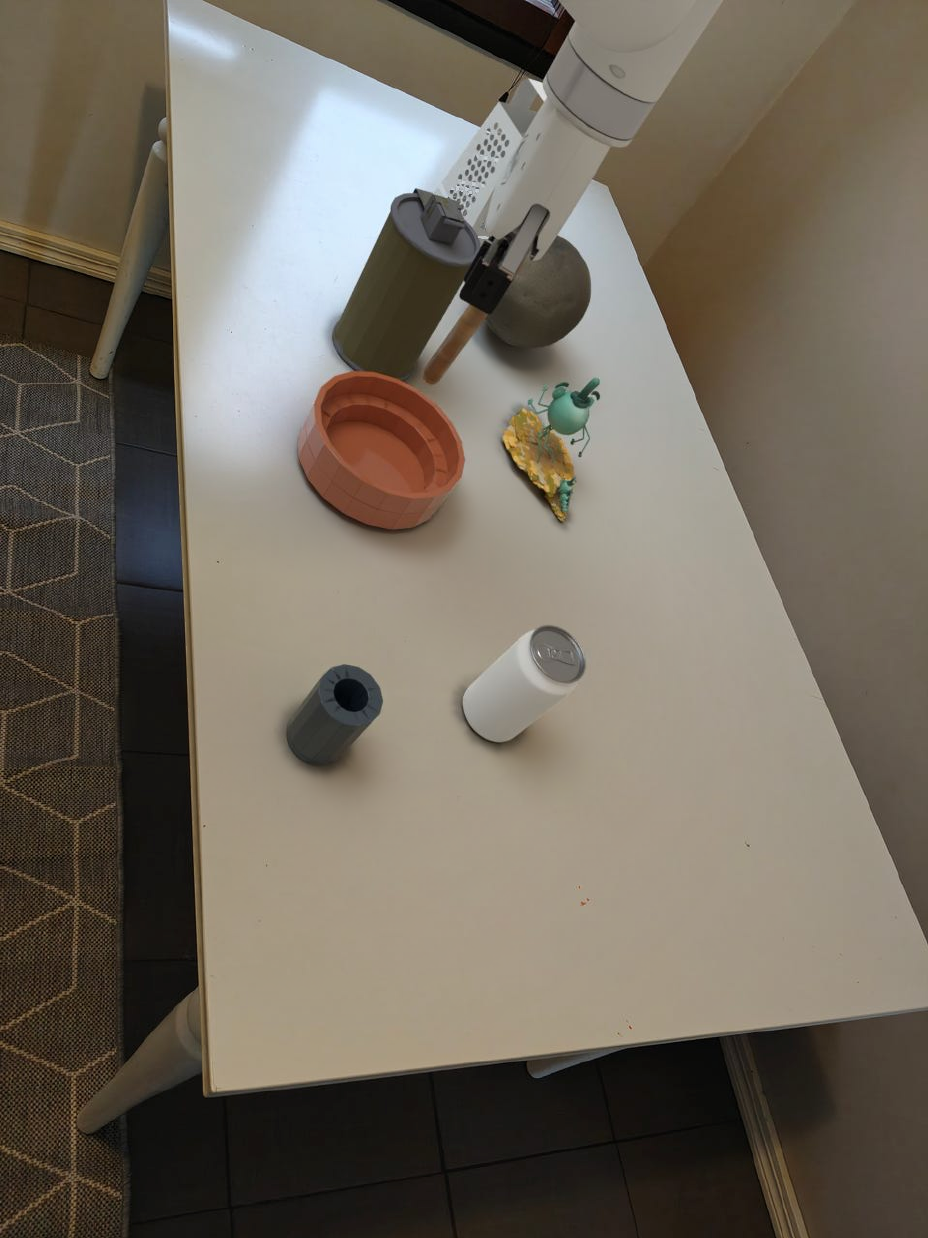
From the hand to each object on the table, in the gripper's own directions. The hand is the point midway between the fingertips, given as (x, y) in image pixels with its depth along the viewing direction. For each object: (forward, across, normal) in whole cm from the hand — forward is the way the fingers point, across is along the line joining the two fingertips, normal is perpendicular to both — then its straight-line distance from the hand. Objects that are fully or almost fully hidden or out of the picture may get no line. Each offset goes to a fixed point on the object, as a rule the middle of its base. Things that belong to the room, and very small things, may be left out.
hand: (477, 295), depth 73 cm
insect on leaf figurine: (+24, -14, +19) cm, 33 cm away
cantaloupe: (+24, -35, +12) cm, 44 cm away
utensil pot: (+24, +32, +2) cm, 40 cm away
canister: (+24, -19, -4) cm, 31 cm away
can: (+24, +23, +18) cm, 38 cm away
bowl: (+24, 0, 0) cm, 24 cm away
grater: (+24, -59, +4) cm, 64 cm away
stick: (+10, 0, 0) cm, 10 cm away
